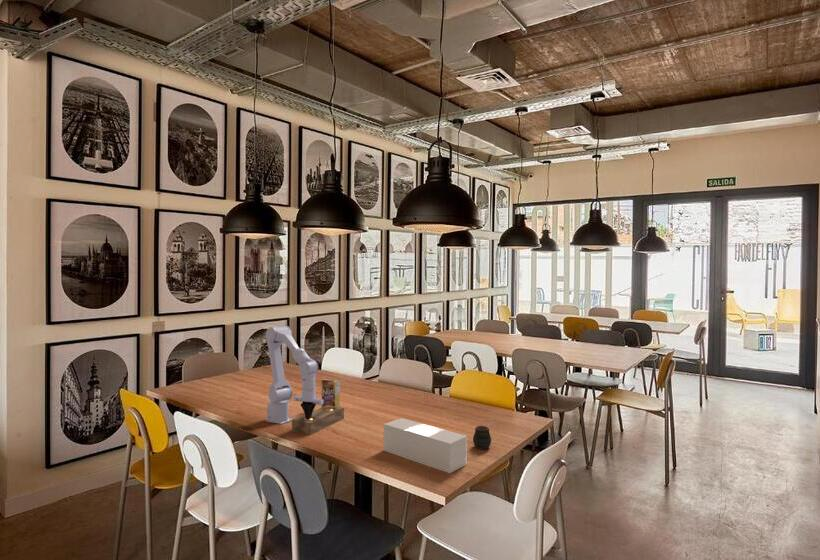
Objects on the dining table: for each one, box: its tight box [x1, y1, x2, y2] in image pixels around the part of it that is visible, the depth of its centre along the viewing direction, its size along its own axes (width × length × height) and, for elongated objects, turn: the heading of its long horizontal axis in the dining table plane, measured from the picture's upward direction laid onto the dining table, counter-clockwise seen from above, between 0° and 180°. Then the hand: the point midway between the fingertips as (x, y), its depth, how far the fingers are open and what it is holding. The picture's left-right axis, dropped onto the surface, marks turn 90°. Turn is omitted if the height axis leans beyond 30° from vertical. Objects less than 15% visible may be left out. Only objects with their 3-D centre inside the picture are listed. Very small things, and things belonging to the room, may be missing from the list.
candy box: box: [321, 377, 341, 407], centre depth 243 cm, size 9×4×15 cm, turn 60°
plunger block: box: [291, 405, 345, 436], centre depth 219 cm, size 10×26×5 cm, turn 155°
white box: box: [383, 417, 468, 474], centre depth 182 cm, size 32×11×11 cm, turn 50°
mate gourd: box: [472, 425, 492, 450], centre depth 193 cm, size 7×8×10 cm
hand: (308, 418), depth 212 cm, fingers closed, pressing on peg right
